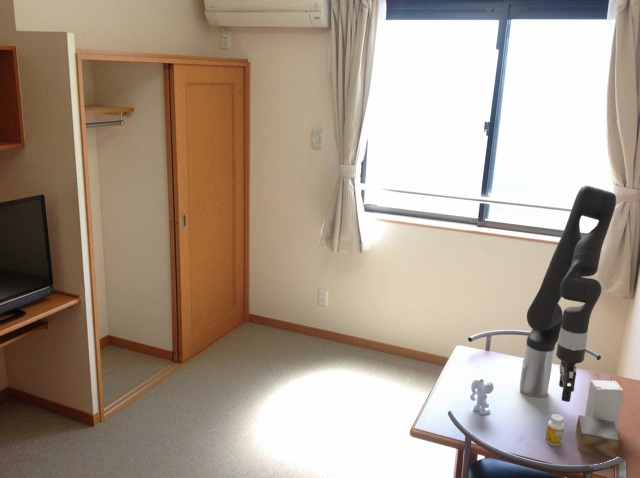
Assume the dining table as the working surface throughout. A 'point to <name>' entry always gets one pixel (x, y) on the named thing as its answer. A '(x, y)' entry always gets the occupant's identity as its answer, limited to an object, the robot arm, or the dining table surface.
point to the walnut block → (597, 436)
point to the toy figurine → (481, 395)
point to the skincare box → (604, 400)
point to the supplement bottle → (555, 430)
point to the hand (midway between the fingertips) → (564, 393)
